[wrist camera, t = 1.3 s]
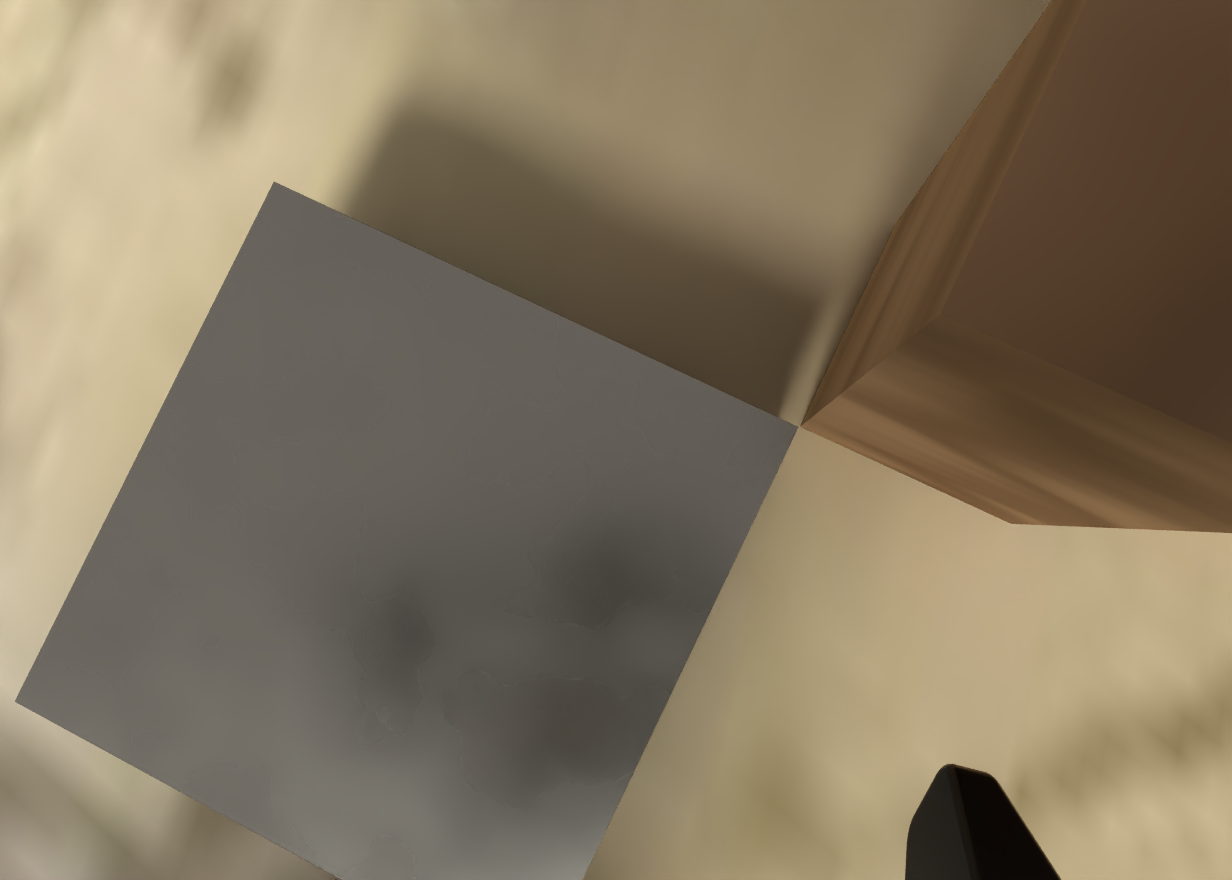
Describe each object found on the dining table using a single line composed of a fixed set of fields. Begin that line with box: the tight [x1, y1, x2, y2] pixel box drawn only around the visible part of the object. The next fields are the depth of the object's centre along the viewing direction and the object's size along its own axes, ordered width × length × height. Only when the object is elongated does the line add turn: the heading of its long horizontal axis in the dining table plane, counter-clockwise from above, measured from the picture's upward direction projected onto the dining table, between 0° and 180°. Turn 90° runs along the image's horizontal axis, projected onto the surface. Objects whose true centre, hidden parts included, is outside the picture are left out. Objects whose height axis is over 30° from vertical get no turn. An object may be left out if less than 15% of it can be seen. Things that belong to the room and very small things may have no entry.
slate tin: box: [15, 182, 798, 880], centre depth 21 cm, size 11×11×4 cm
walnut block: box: [801, 0, 1232, 533], centre depth 16 cm, size 5×5×13 cm
